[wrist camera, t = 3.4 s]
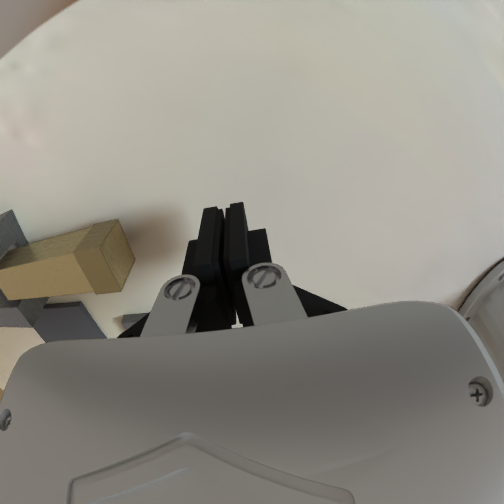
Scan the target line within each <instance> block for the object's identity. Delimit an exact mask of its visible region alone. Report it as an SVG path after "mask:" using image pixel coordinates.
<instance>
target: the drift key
mask: <svg viewBox="0 0 504 504" xmlns="http://www.w3.org/2000/svg"><path fill="white" fill-rule="evenodd" d="M134 262H135V257H134V255H133V253H132V251H131V248H130V246H129V244H128V241H127V239H126V236H125V234H124V232H123V229H122V227H121V224H120V222H119V219H114V220H110V221H106V222H102V223H98V224H94V225H93V226H92V228H88V229H84V230H80V231H76V232H72V233H68V234H64V235H61V236H57V237H53V238H49V239H46V240H42V241H39V242H35V243H32V244H28V245H25V246H22V247H18V248H15V249H12V250H9V251H8V252H7V253H6V254H5V255H4V256H3V257H2V259H1V260H0V288H1V290H2V291H3V293H4V294H5V296H6V297H7V299H8V300H18V299H29V298H39V297H49V296H59V295H69V294H78V293H87V292H95V293H96V294H104V293H113V292H121V291H122V289H123V286H124V284H125V282H126V279H127V277H128V275H129V273H130V270H131V268H132V266H133V264H134Z"/></svg>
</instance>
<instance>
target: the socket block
mask: <svg viewBox="0 0 504 504" xmlns="http://www.w3.org/2000/svg"><path fill="white" fill-rule="evenodd" d="M25 245H28V242H27V240H26V238H25V236H24V234H23V232H22V230H21V228H20V226H19V224H18V222H17V220H16V218H15V215H14V213H13V211H12V210H10V211H7V212H5V213H3V214H1V215H0V260H1V259H2V257H3V256H4V255H5V254H6V253H7V252H8V251H9V250H12V249H15V248H18V247H22V246H25ZM49 297H50V296H49ZM49 297H39V298H29V299H18V300H8V299H7V297H6V296H5V294H4V293H3V291H2V290H1V288H0V327H33V325H34V323H35V322H36V320H37V318H38V316H39V314H40V312H41V311H42V309H43V307H44V305H45V304H46V302H47V300H48V299H49Z"/></svg>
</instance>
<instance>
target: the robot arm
mask: <svg viewBox="0 0 504 504" xmlns="http://www.w3.org/2000/svg"><path fill="white" fill-rule="evenodd" d="M236 312H237V315H238V319H239V322H240V324H243V327H241V328H233V329H232V325H235V324H236ZM0 504H504V260H503V261H502V262H501V263H499V264H498V265H497V266H496V267H495V268H494V269H493V270H491V271H490V272H489V273H488V274H487V275H486V276H485V277H484V278H483V280H482V281H481V282H480V283H479V284H478V285H477V286H476V288H475V289H474V290H473V291H472V293H471V294H470V295H469V297H468V298H467V299H466V301H465V303H464V304H463V306H462V307H461V309H460V311H459V313H458V312H457V311H455V310H454V309H453V308H451V307H449V306H446V305H443V304H440V303H435V302H426V301H399V302H391V303H384V304H378V305H373V306H368V307H362V308H357V309H351V310H348V309H346V308H344V307H342V306H340V305H338V304H335V303H333V302H331V301H328V300H326V299H324V298H321V297H319V296H317V295H315V294H312V293H310V292H308V291H305V290H303V289H301V288H299V287H296V286H294V285H292V283H291V281H290V279H289V277H288V275H287V273H286V271H285V270H284V269H283V267H281V266H280V265H278V264H274V263H272V260H271V255H270V250H269V245H268V239H267V234H266V229H258V230H252V231H248V226H247V220H246V215H245V209H244V204H243V202H239V203H233V204H230V208H226V213H225V218H224V214H223V210H222V209H218V208H217V206H216V207H210V208H205V209H204V210H203V215H202V220H201V225H200V230H199V235H198V239H197V240H191V241H189V243H188V247H187V252H186V256H185V261H184V265H183V270H182V275H179V276H176V277H173V278H171V279H170V280H168V281H167V282H166V283H165V284H164V285H163V286H162V288H161V289H160V292H159V294H158V296H157V298H156V300H155V303H154V305H153V307H152V310H151V312H149V313H148V314H147V315H145V316H144V317H143V318H141V319H140V320H139V321H137V322H136V323H135V324H134V325H132V326H131V327H130V328H128V329H127V330H126V331H124V332H123V333H122V334H120V335H119V336H118V337H117V338H111V339H79V340H60V341H53V342H48V343H44V344H40V345H38V346H36V347H33V348H31V349H30V350H28V351H26V352H25V353H24V354H22V355H21V357H20V358H19V360H18V361H17V363H16V365H15V367H14V369H13V370H12V373H11V375H10V377H9V379H8V382H7V385H6V387H5V390H4V393H3V396H2V399H1V402H0Z"/></svg>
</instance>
